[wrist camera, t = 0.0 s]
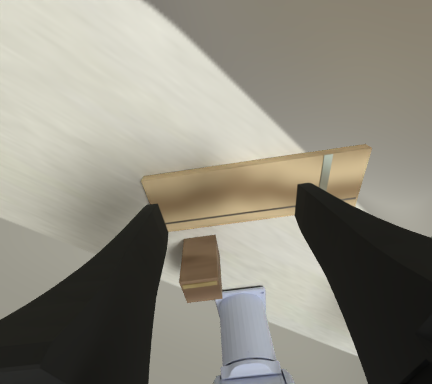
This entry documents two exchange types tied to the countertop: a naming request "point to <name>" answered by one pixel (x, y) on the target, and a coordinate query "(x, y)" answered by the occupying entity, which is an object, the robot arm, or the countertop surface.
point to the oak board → (254, 187)
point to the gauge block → (201, 269)
